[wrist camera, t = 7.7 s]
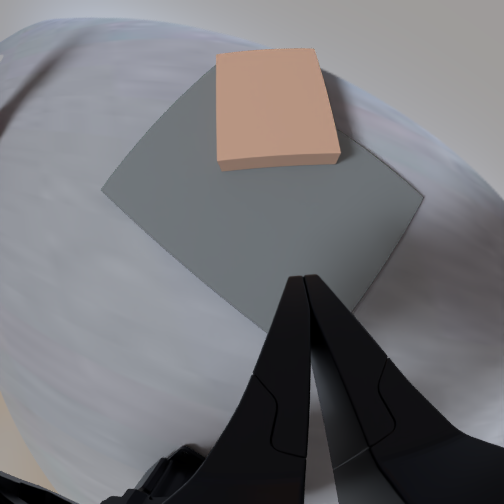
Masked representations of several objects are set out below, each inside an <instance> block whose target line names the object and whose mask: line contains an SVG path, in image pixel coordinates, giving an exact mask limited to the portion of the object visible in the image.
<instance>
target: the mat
mask: <svg viewBox="0 0 504 504" xmlns="http://www.w3.org/2000/svg"><path fill="white" fill-rule="evenodd" d="M336 132H337V137H338V141H339V146H340V151H341V154H340V156H339V158H338V160H337V162H336V164H324V165H298V166H280V167H266V168H253V169H242V170H232V171H221V169H220V166H219V164H218V162H217V135H216V65H215V66H214V67H212V68H211V69H210V70H209V71H208V72H207V73H206V74H204V75H203V76H202V77H201V78H200V79H199V80H198V81H197V82H196V83H194V84H193V85H192V86H191V87H190V88H189V89H188V90H187V91H186V92H185V93H184V94H183V95H182V96H181V97H180V98H179V99H178V100H177V101H176V102H175V103H174V104H173V105H172V106H171V107H170V108H169V109H168V110H167V111H166V112H165V113H164V114H163V115H162V116H161V117H160V118H159V119H158V120H157V121H156V123H155V124H154V125H153V126H152V127H151V128H150V129H149V130H148V131H147V132H146V134H145V135H144V136H143V137H142V138H141V139H140V140H139V142H138V143H137V144H136V145H135V146H134V148H133V149H132V150H131V151H130V152H129V154H128V155H127V156H126V157H125V158H124V160H123V161H122V162H121V163H120V165H119V166H118V167H117V169H116V170H115V171H114V172H113V174H112V175H111V176H110V178H109V179H108V180H107V182H106V183H105V185H104V186H103V187H102V189H101V191H102V192H103V193H104V194H105V195H106V196H107V197H108V198H109V199H110V200H111V201H112V202H114V203H115V204H116V205H117V206H118V207H119V208H120V209H121V210H122V211H123V212H124V213H125V214H126V215H127V216H128V217H130V218H131V219H132V220H133V221H134V222H135V223H136V224H137V225H138V226H139V227H140V228H141V229H143V230H144V231H145V232H146V233H147V234H148V235H149V236H150V237H151V238H153V239H154V240H155V241H156V242H157V243H158V244H159V245H160V246H162V247H163V248H164V249H165V250H166V251H167V252H168V253H170V254H171V255H172V256H173V257H174V258H175V259H176V260H178V261H179V262H180V263H181V264H182V265H183V266H185V267H186V268H187V269H188V270H189V271H190V272H192V273H193V274H194V275H195V276H196V277H198V278H199V279H200V280H201V281H202V282H204V283H205V284H206V285H207V286H208V287H210V288H211V289H212V290H213V291H214V292H216V293H217V294H218V295H219V296H220V297H222V298H223V299H224V300H225V301H227V302H228V303H229V304H230V305H232V306H233V307H234V308H235V309H237V310H238V311H239V312H240V313H242V314H243V315H244V316H245V317H247V318H248V319H249V320H251V321H252V322H253V323H254V324H256V325H257V326H258V327H260V328H261V329H262V330H263V331H265V332H266V333H267V334H268V332H269V329H270V326H271V324H272V321H273V318H274V315H275V313H276V310H277V307H278V304H279V302H280V299H281V296H282V293H283V290H284V288H285V285H286V282H287V279H288V277H289V276H298V275H301V276H304V275H309V274H317V275H319V276H320V277H321V279H322V280H323V281H324V282H325V283H326V284H327V285H328V286H329V288H330V289H331V290H332V291H333V292H334V293H335V294H336V296H337V297H338V298H339V299H340V300H341V301H342V303H343V304H344V305H345V306H346V307H347V308H348V309H349V311H350V312H352V310H353V309H354V308H355V306H356V305H357V303H358V302H359V301H360V299H361V298H362V297H363V295H364V294H365V292H366V291H367V289H368V288H369V287H370V285H371V284H372V282H373V281H374V279H375V278H376V276H377V275H378V273H379V272H380V270H381V269H382V267H383V266H384V264H385V263H386V261H387V259H388V258H389V256H390V255H391V253H392V251H393V250H394V248H395V247H396V245H397V243H398V242H399V240H400V238H401V237H402V235H403V233H404V232H405V230H406V228H407V227H408V225H409V223H410V221H411V220H412V218H413V216H414V214H415V212H416V211H417V209H418V207H419V205H420V203H421V201H422V200H423V198H424V197H422V196H421V195H420V194H419V193H418V192H417V191H416V190H415V189H414V188H412V187H411V186H410V185H409V184H408V183H407V182H406V181H404V180H403V179H402V178H401V177H400V176H399V175H397V174H396V173H395V172H394V171H393V170H391V169H390V168H389V167H388V166H386V165H385V164H384V163H383V162H381V161H380V160H379V159H378V158H376V157H375V156H374V155H372V154H371V153H370V152H368V151H367V150H366V149H364V148H363V147H362V146H360V145H359V144H358V143H356V142H355V141H353V140H352V139H351V138H349V137H348V136H346V135H345V134H343V133H342V132H341V131H339V130H338V129H336Z"/></svg>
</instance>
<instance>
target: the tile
mask: <svg viewBox="0 0 504 504" xmlns="http://www.w3.org/2000/svg"><path fill="white" fill-rule="evenodd" d="M216 135H217V162H218V164H219V166H220V169H221V171H232V170H242V169H253V168H266V167H280V166H298V165H324V164H336V162H337V160H338V158H339V156H340V154H341V151H340V146H339V141H338V137H337V132H336V127H335V123H334V119H333V114H332V110H331V106H330V102H329V98H328V94H327V91H326V87H325V83H324V80H323V76H322V73H321V69H320V66H319V63H318V59H317V56H316V53H315V50H314V49H305V48H300V49H298V48H294V49H265V50H252V51H241V52H232V53H224V54H217V55H216Z"/></svg>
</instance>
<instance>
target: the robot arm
mask: <svg viewBox="0 0 504 504" xmlns="http://www.w3.org/2000/svg"><path fill="white" fill-rule="evenodd" d="M387 357H388V356H387V355H386V353H385V352H384V351H383V350H382V349H381V347H380V346H379V345H378V344H377V343H376V341H375V340H374V339H373V338H372V337H371V335H370V334H369V333H368V332H367V331H366V329H365V328H364V327H363V326H362V325H361V324H360V322H359V321H358V320H357V319H356V318H355V316H354V315H353V314H352V313H351V312H350V311H349V309H348V308H347V307H346V306H345V305H344V304H343V303H342V301H341V300H340V299H339V298H338V297H337V296H336V294H335V293H334V292H333V291H332V290H331V289H330V288H329V286H328V285H327V284H326V283H325V282H324V281H323V280H322V279H321V277H320V276H319V275H317V274H309V275H304V276H301V275H298V276H289V277H288V279H287V282H286V285H285V288H284V290H283V293H282V296H281V299H280V302H279V304H278V307H277V310H276V313H275V315H274V318H273V321H272V324H271V326H270V329H269V332H268V334H267V337H266V340H265V342H264V345H263V347H262V350H261V353H260V355H259V358H258V360H257V363H256V366H255V368H254V371H253V375H251V378H250V380H249V383H248V385H247V388H246V390H245V392H244V394H243V396H242V399H241V401H240V403H239V405H238V407H237V409H236V411H235V412H234V414H233V416H232V418H231V420H230V421H229V423H228V425H227V426H226V428H225V430H224V431H223V433H222V434H221V436H220V438H219V439H218V441H217V442H216V444H215V445H214V447H213V449H212V450H211V452H210V453H209V455H208V456H207V458H206V459H205V458H204V457H202V456H201V455H199V454H198V453H196V452H195V451H193V450H192V449H191V448H189V447H186V446H182V447H180V448H179V449H178V450H177V451H176V452H175V453H174V454H173V455H172V456H171V457H169V458H168V459H166V458H161V459H160V460H159V461H157V462H156V463H155V464H154V465H153V466H152V467H151V468H150V469H149V470H148V471H147V472H146V473H145V475H144V476H143V477H142V479H141V480H140V481H139V483H138V484H137V486H136V487H135V488H134V489H128V490H127V491H126V492H125V494H124V495H123V496H122V497H118V496H111V497H109V498H107V499H106V500H104V501H102V502H101V503H100V504H304V491H305V473H306V457H307V445H308V429H309V408H310V375H311V365H312V369H313V373H314V378H315V383H316V387H317V392H318V396H319V401H320V406H321V411H322V416H323V420H324V425H325V430H326V435H327V441H328V446H329V451H330V456H331V462H332V467H333V473H334V478H335V484H336V490H337V496H338V502H339V504H504V447H500V446H497V445H494V444H491V443H488V442H485V441H483V440H480V439H477V438H474V437H471V436H469V435H467V434H465V433H463V432H461V431H460V430H458V429H457V428H456V427H454V426H453V425H452V424H451V423H450V422H449V421H448V420H447V419H446V418H445V417H444V416H443V415H442V414H441V413H440V412H439V411H438V410H437V409H436V408H435V407H434V406H433V405H432V404H431V403H430V402H429V401H428V400H427V399H426V398H425V397H424V396H423V395H422V394H421V393H420V392H419V391H418V390H417V389H416V388H415V387H414V386H413V385H412V384H411V383H410V382H409V381H408V380H407V379H406V377H405V376H404V375H403V374H402V373H401V372H400V370H399V369H398V368H397V367H396V366H395V364H394V363H393V362H392V361H391V359H390V358H387ZM184 452H187V453H188V454H185V453H184ZM0 504H78V503H76V502H74V501H72V500H70V499H68V498H65V497H63V496H61V495H59V494H57V493H55V492H52V491H50V490H48V489H45V488H43V487H41V486H39V485H35V484H33V483H30V482H27V481H24V480H21V479H19V478H16V477H14V476H11V475H9V474H6V473H4V472H2V471H0Z"/></svg>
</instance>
